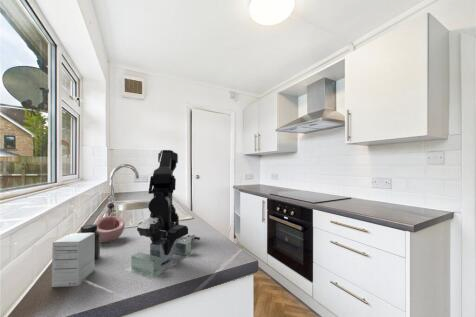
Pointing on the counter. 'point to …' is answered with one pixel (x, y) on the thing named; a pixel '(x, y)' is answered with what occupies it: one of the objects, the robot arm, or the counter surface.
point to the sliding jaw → (184, 245)
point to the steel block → (160, 250)
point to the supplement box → (72, 259)
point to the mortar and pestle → (110, 228)
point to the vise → (152, 264)
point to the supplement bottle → (92, 229)
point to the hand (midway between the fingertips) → (162, 253)
